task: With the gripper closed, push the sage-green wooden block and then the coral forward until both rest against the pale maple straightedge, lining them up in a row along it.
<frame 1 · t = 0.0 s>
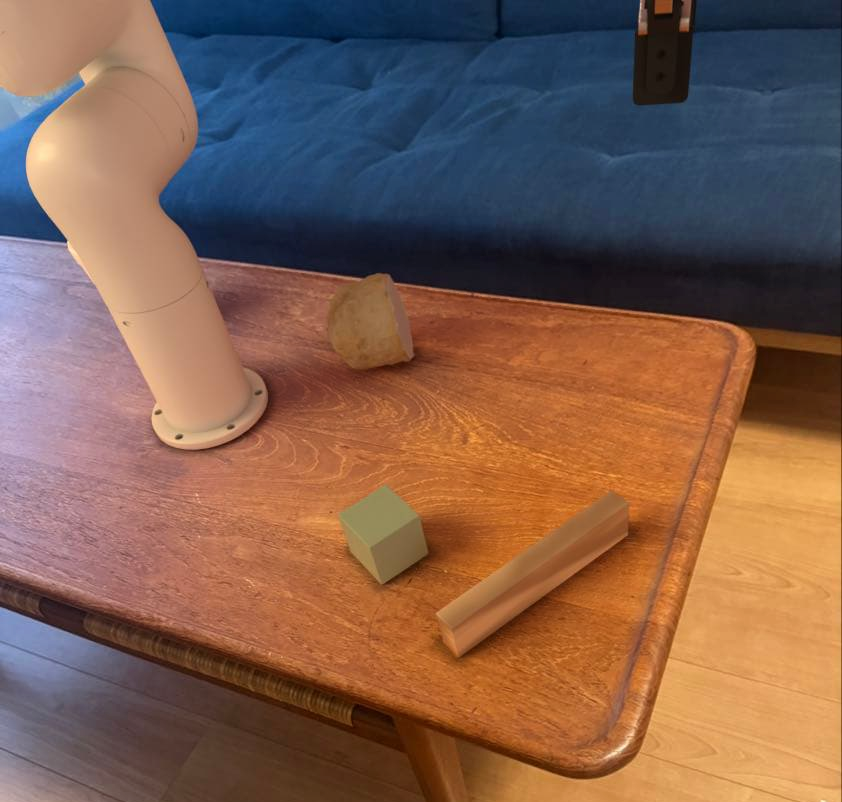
hand: (664, 68, 52), 31 cm above the table, tool pointing down, fingers open, 9 cm apart
block: (389, 552, 71), on the table
straightedge: (538, 586, 66), on the table
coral: (378, 357, 90), on the table
cup: (157, 329, 101), on the table
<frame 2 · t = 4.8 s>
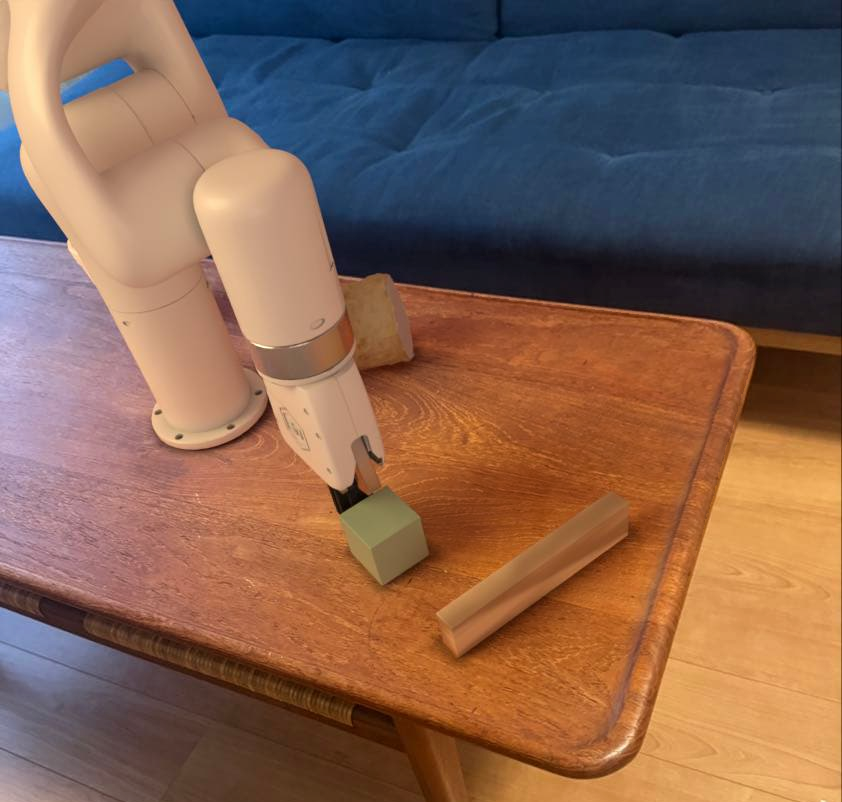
hand: (357, 509, 72), 2 cm above the table, tool pointing down, fingers closed
block: (390, 554, 71), on the table, touching gripper
everything else where it was.
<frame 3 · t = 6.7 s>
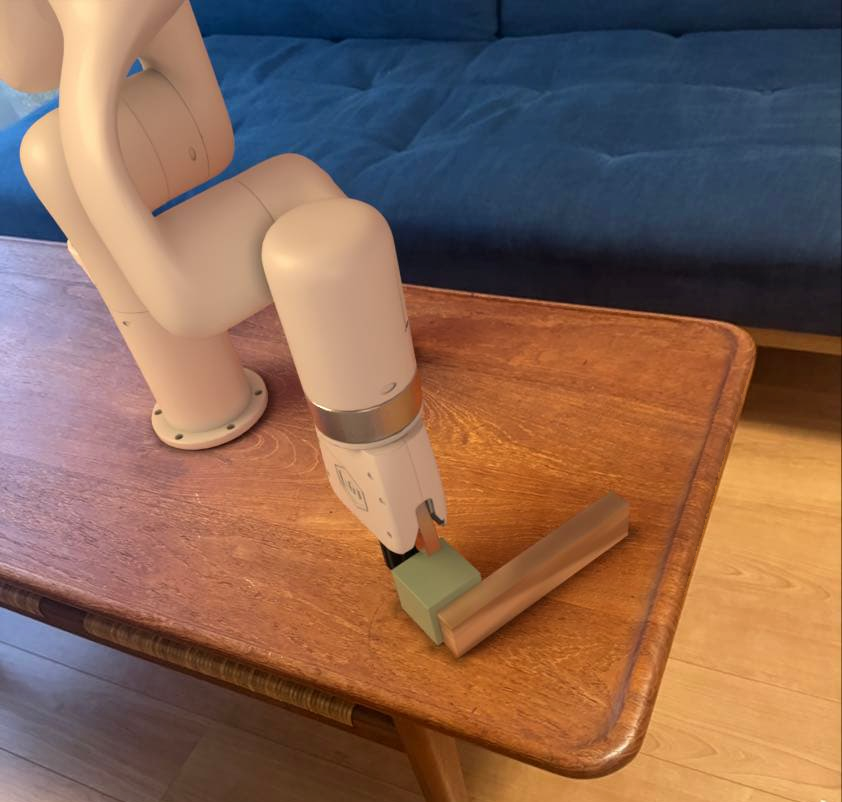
hand: (407, 562, 68), 2 cm above the table, tool pointing down, fingers closed
block: (444, 609, 66), on the table, touching gripper, straightedge
everything else where it was.
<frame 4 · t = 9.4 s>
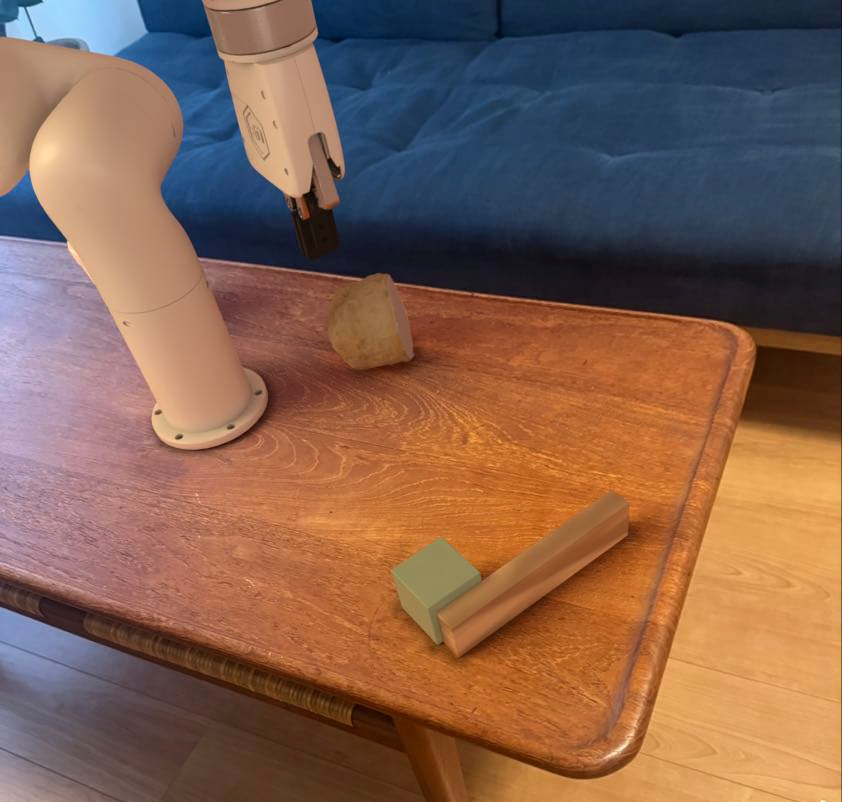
hand: (321, 251, 73), 17 cm above the table, tool pointing down, fingers closed
block: (443, 608, 66), on the table
everything else where it was.
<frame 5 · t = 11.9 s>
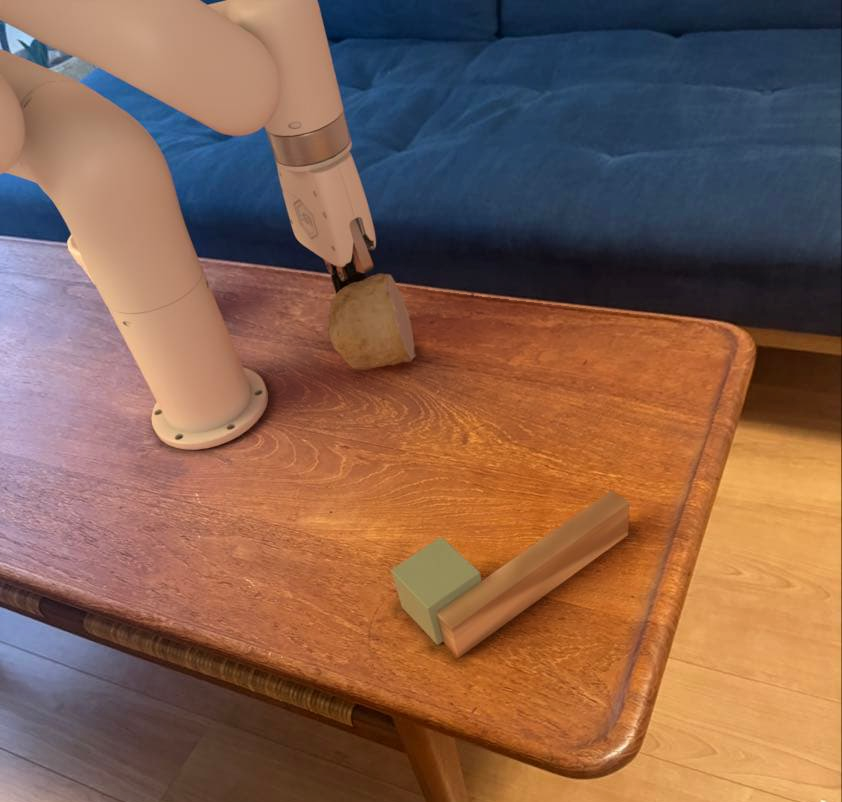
hand: (355, 302, 91), 4 cm above the table, tool pointing down, fingers closed
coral: (380, 358, 90), on the table, touching gripper
everything else where it was.
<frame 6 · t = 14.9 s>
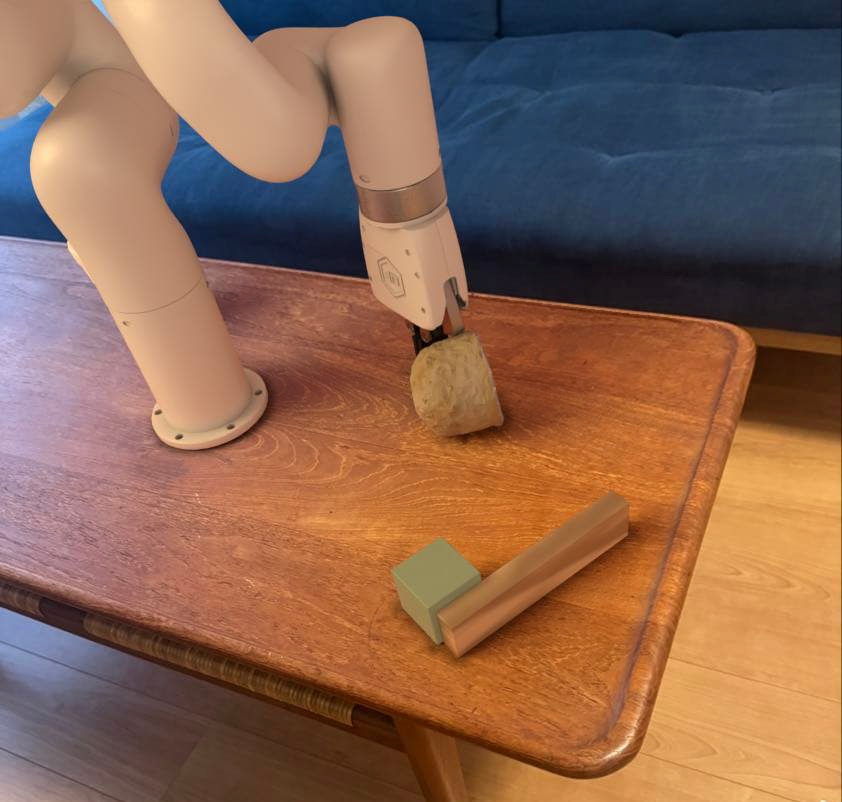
hand: (435, 363, 83), 3 cm above the table, tool pointing down, fingers closed
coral: (462, 421, 81), on the table, touching gripper
everything else where it was.
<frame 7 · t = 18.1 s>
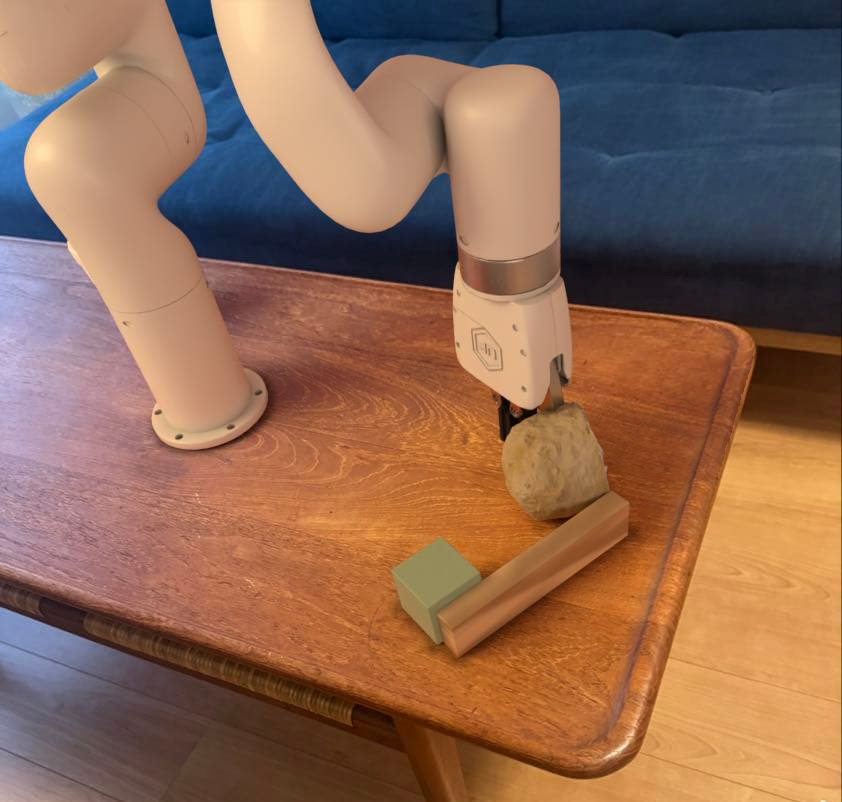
hand: (519, 436, 75), 2 cm above the table, tool pointing down, fingers closed
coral: (555, 499, 72), on the table, touching gripper, straightedge
everything else where it was.
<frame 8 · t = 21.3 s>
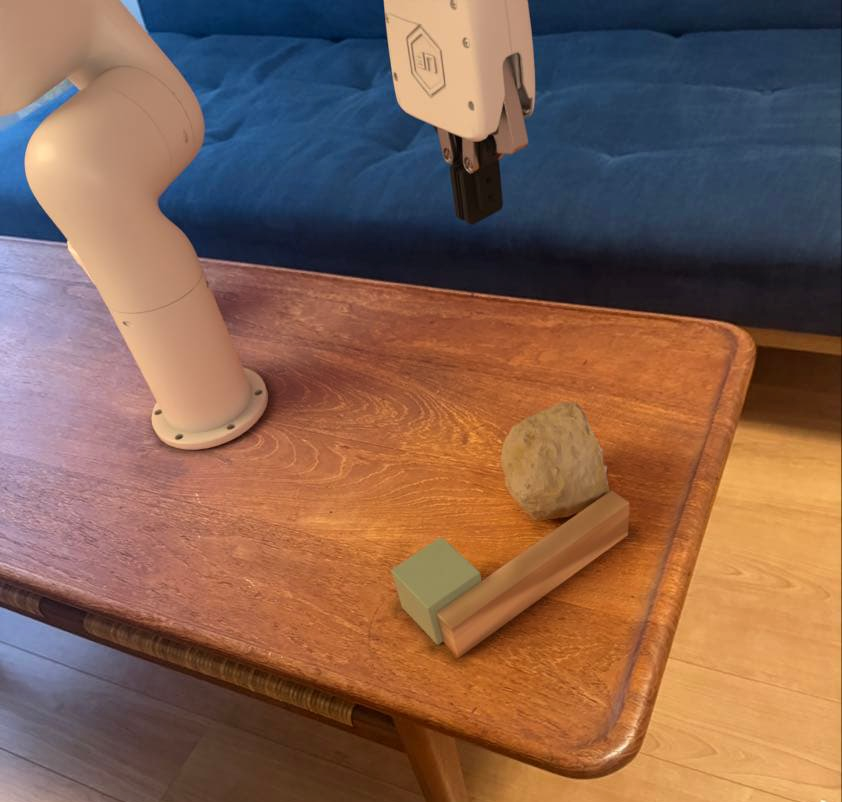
hand: (479, 213, 60), 23 cm above the table, tool pointing down, fingers closed
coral: (555, 499, 72), on the table
everything else where it was.
at the end: block 0.6 cm from the target spot on the table beside the straightedge, on the table; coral 0.9 cm from the target spot on the table beside the straightedge, on the table; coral tilted 0° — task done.
